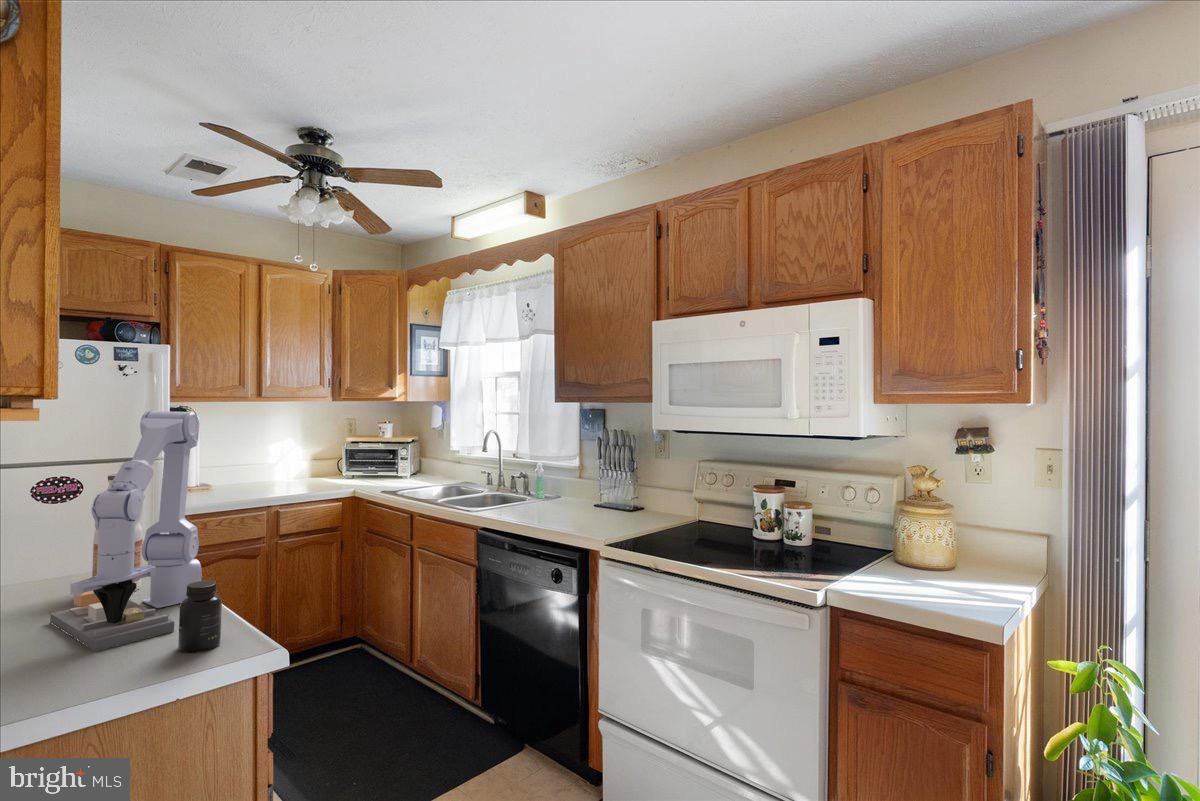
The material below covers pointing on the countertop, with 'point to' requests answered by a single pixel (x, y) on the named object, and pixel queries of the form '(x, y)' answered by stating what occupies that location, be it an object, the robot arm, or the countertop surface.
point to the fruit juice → (137, 544)
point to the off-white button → (96, 612)
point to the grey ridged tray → (110, 627)
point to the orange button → (86, 599)
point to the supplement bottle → (200, 618)
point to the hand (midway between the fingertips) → (113, 621)
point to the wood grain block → (132, 615)
